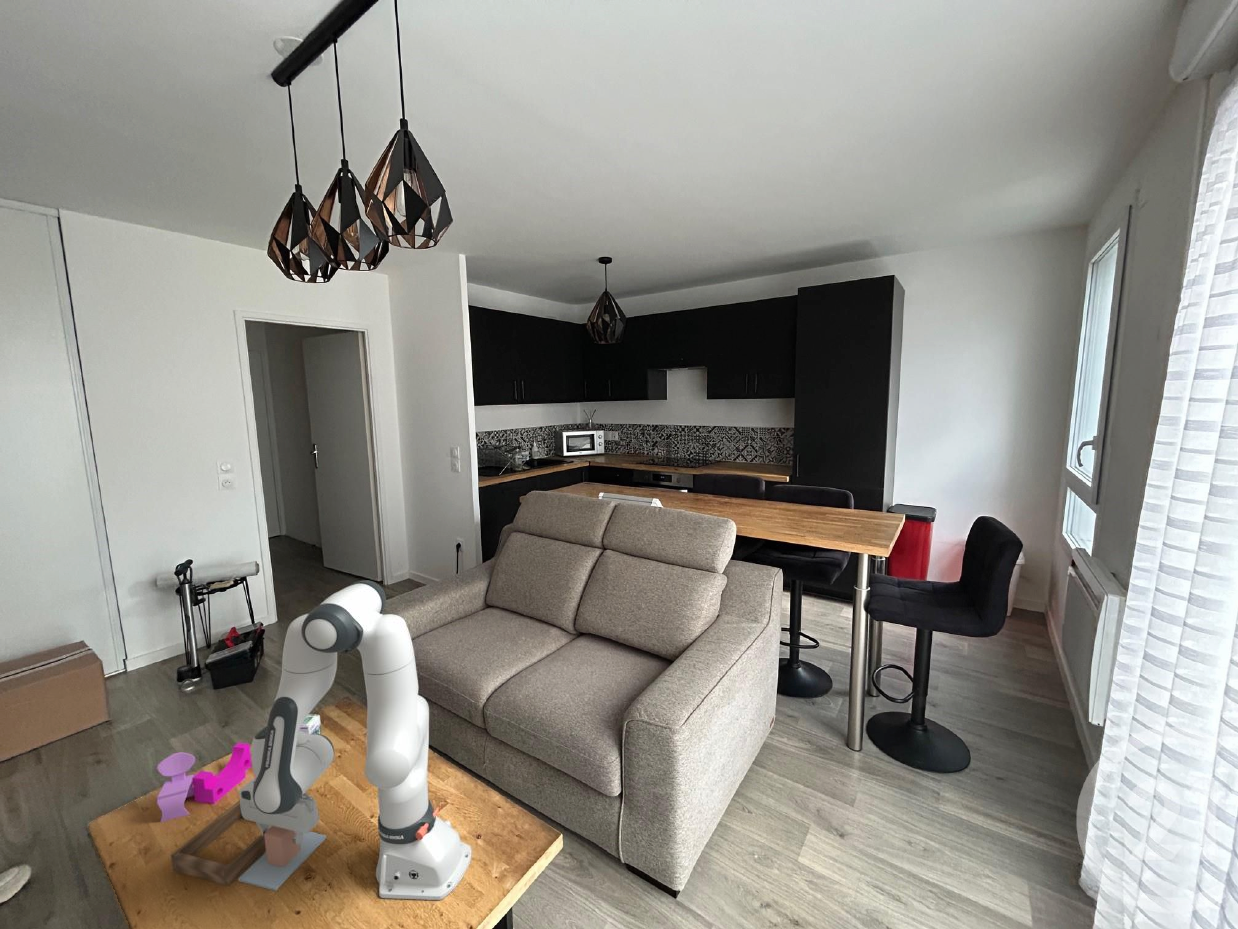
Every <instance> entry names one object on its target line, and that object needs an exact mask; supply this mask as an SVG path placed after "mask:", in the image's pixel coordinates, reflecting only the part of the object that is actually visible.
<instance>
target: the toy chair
mask: <svg viewBox="0 0 1238 929" xmlns="http://www.w3.org/2000/svg"><path fill="white" fill-rule="evenodd" d="M195 762H196V757H195V756H194V755H193V754H190V753H189V752H180V751H179V752H175V753H173V754H171V755H169V756H167V757H165V758H164V759H163V760H161V761H160V762H159V763H158V765H157V767H156V769H157V771H158V772H159V773H160V775H162V777H170V778H171V779H170V780H166V781H165V782H164V783H163V786H162V788H161V790H160V791H159V793H158V794H157V797H156V799H157V800H156V803H157V806H158V807H159V809H160V811H161V818H160V823H163V822H166V821H170V820H172V819H177V818H181V817H184V816H187V815H190V812H189V811H188V810H187V809H186V808H185V801H186V798H190V797H193V796H194V788H193V780H192V778H193V777H194V776H195V774H190V775H186V772H188V771H190V769H191V768H192V766H193V765H194V764H195ZM194 797H195V796H194Z"/></svg>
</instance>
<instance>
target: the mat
mask: <svg viewBox="0 0 1238 929" xmlns="http://www.w3.org/2000/svg"><path fill="white" fill-rule="evenodd" d="M303 837H304V839H303V841H302V842H301V843H300V844H301V850H300V851H299V852H298V853H297V854H296V855H295V856H294V857H293V858H292V859H291V861H290V862H289V863H288V864H287V865H286V866H285V867H281V866H277V865H273V864H269V863H267V856H266V851H265V852H264V853H263V854H262V855H261V856H260V857H259V858H257V859H256V860H255V861H254V862H253V863H252V864H251V865H250V866H249V867H248V868H247V869H246V870H245V871H244V872H243V873H242V874H240V875H239V876H238V877H237V881H238V882H242V883H245V884H248V885H252V886H256V887H260V888H264V889H268V890H271V891H275V892H277V890H278V889H279V888H280V887H282V885H283V884H284V883H285V882H286V881H287V880H288V878H290V876H291V875H292V874H293V873H295V871H296V870H297V869H298V868H299V867H300V866H301V865H302V864H303V863H304V862H305V861H306V860H307V859H308V857H309V856H310V855H311V854H312V853H313V852H314V851H315V850H316V849H317V848H318V847H319V846H320V845H321V844H322V843H323V842H324V841H325V839H326V838H327V834H322V833H317V832H314V831H310V832H308V833H307V834H305V833H303Z"/></svg>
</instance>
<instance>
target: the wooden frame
mask: <svg viewBox="0 0 1238 929" xmlns="http://www.w3.org/2000/svg"><path fill="white" fill-rule="evenodd" d="M241 818H243V816H242V814H241V808H240V799H239V800H238V801H237V802H235V803H234V804H233V805H232V806H230V807H229V808H228V809H227V810H226V811H224V812H223V813H222V814H220V815H219V816H218V817H216V819H214V820H213V821H212V822H210V823H209V824H208V825H207V826H205V827H204V828H203V829H202V830H200V831H199V832H198V833H197V834H196V835H194V836H193V837H192V838H191V839H189V840H188V841H186V843H184V844H183V845H182V846H180V847H179V848H178V849H177V850H175V851H174V852H173V853H171V855H170V857H171V865H172V871H173V872H176V873H181V874H184V875H187V874H189V875H188V876H192V877H195V878H199V879H203V880H206V881H210V882H212V883H213V882H214V883H217V884H220V885H225V886H227V887H228V886H230V885H231V884H232V883H233V882H234V881H235V880H237V879H238V878H239V877H240V876H241V875H242V874H243V873H244V872H245V871H247V870H248V869H249V868H250V867H251V866H252V865H253V864H254V863H255V862H256V861H257V860H258V859H259V858H260V857H261V856H262V855H263V854H264V853H265V852H266V846H265V837H264V836H262V833H261V834H260V835H259V836H258V837H257V838H256V839H254V840H253V841H252V842H251V843H250V844H249V845H248V846H247V847H245V849H243V850H242V851H241V852H240V853H239V854H238V855H237V856H236V857H235V858H233V859H232V860H231V861H230V862H229V863H228V864H225V863H221V862H218V861H213V860H209V859H207V858H206V859H205V858H202V857H198V856H197V855H198V854H199V853H201V852H202V851H203V850H204V849H205V848H207V847H208V846H209V845H210V844H211V843H213V842H214V841H215V840H216V839H217V838H218V837H220V836H221V835H222V834H223V833H225V832H226V831H227V830H228V829H229V828H231V827H233V825H234V824H236V823H237V822H238V821H239V820H240V819H241Z"/></svg>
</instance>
